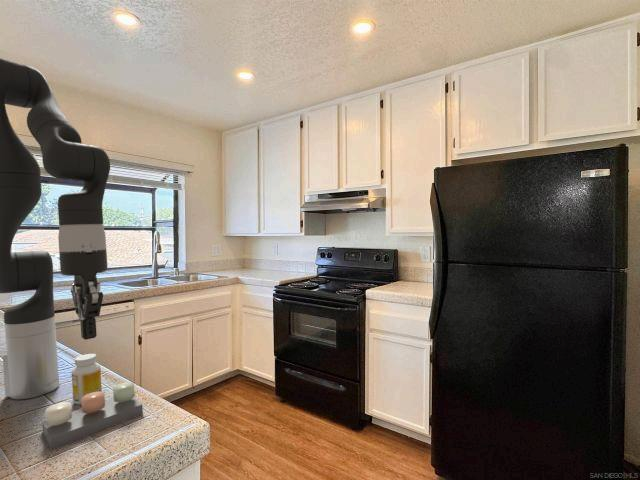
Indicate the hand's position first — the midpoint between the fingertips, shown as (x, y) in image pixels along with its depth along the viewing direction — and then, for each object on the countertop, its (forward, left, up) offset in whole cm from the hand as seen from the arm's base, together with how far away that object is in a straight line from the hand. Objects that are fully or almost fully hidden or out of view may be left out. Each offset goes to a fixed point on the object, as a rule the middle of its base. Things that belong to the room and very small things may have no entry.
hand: (89, 337), depth 69 cm
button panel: (0, 0, -17) cm, 17 cm away
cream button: (-4, -4, -14) cm, 15 cm away
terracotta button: (0, 0, -14) cm, 14 cm away
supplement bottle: (-8, +10, -17) cm, 21 cm away
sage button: (+4, +4, -14) cm, 15 cm away
